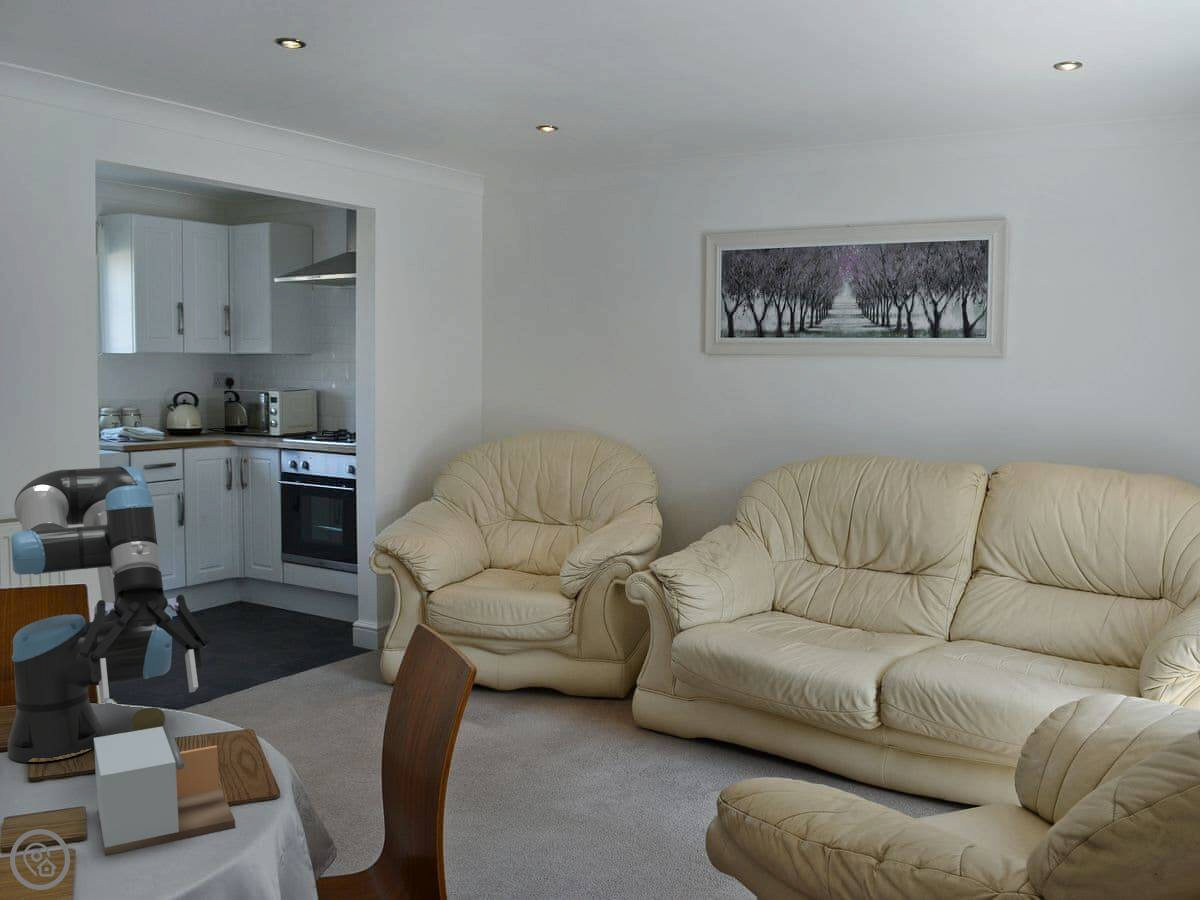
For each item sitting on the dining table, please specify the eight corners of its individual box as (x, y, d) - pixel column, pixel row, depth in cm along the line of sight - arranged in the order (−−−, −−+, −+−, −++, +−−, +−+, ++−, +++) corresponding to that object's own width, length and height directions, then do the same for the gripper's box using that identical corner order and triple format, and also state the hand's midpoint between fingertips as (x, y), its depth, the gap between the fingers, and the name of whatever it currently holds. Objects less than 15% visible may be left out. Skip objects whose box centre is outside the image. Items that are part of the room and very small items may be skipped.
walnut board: (97, 811, 166) (97, 804, 165) (217, 787, 174) (217, 780, 174) (105, 855, 152) (104, 847, 152) (235, 827, 160) (234, 819, 160)
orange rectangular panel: (107, 809, 159) (104, 765, 158) (218, 787, 167) (216, 745, 166) (107, 811, 158) (105, 767, 158) (219, 789, 166) (217, 747, 165)
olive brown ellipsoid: (156, 780, 177) (153, 717, 176) (124, 777, 178) (120, 715, 177) (177, 766, 183) (174, 705, 181) (146, 763, 184) (143, 702, 183)
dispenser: (97, 804, 165) (93, 738, 164) (173, 789, 171) (170, 725, 170) (104, 847, 152) (100, 775, 150) (187, 830, 157) (184, 760, 156)
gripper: (59, 568, 168) (69, 698, 160) (218, 560, 183) (234, 678, 175) (51, 586, 174) (61, 712, 165) (206, 577, 188) (222, 692, 180)
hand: (150, 695), depth 170 cm, fingers open, 13 cm apart
